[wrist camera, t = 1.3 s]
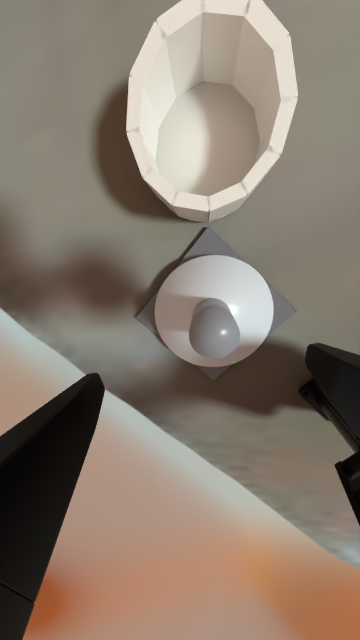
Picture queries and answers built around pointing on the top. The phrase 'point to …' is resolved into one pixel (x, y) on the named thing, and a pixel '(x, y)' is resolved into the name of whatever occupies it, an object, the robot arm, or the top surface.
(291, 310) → the mat
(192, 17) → the bowl
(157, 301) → the lid
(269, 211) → the top surface
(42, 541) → the robot arm
